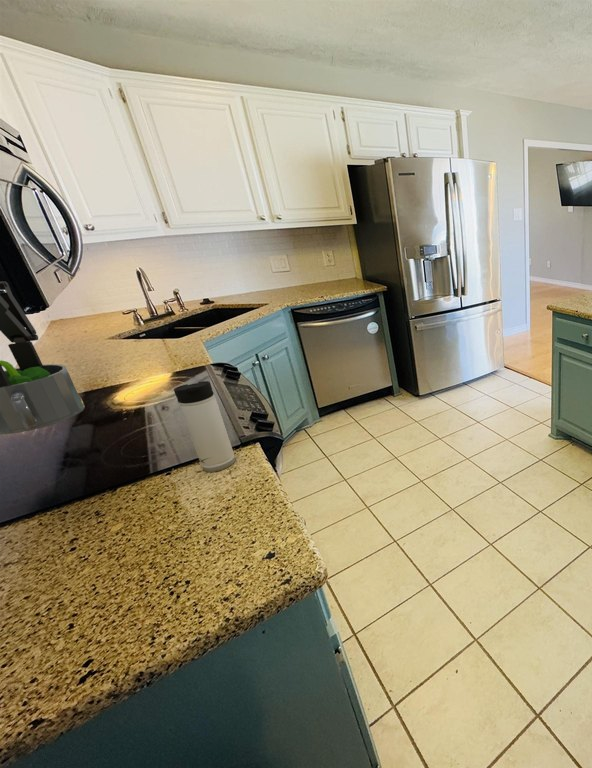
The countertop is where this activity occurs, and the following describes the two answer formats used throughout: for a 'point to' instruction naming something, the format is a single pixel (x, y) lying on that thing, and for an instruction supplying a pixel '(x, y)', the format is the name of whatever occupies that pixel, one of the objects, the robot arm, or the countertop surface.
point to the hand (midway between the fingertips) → (21, 387)
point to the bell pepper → (23, 373)
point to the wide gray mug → (39, 401)
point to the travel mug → (205, 425)
